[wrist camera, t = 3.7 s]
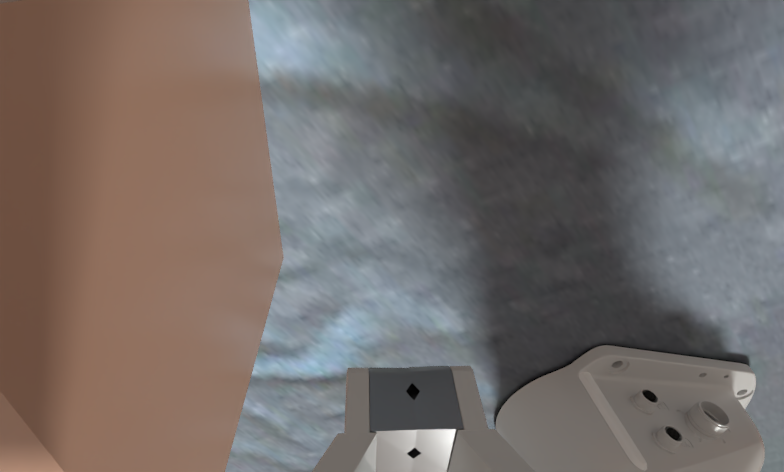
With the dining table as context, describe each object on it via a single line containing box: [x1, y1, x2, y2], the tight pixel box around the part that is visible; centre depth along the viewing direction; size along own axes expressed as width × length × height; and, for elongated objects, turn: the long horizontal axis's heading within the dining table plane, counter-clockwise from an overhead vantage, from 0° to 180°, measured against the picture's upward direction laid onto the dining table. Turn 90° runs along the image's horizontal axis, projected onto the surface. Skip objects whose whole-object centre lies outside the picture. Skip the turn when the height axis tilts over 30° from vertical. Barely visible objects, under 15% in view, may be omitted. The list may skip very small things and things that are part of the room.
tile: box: [0, 0, 283, 472], centre depth 15 cm, size 5×16×18 cm, turn 178°
